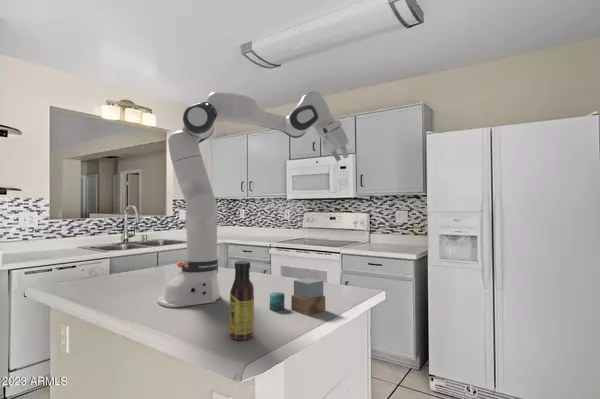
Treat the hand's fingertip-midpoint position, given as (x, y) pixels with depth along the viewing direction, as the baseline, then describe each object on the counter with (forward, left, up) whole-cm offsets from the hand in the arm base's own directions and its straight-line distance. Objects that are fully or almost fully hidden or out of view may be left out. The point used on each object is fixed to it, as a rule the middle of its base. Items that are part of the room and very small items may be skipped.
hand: (342, 159), depth 147 cm
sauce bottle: (-59, -18, -55) cm, 82 cm away
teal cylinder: (-36, -3, -54) cm, 65 cm away
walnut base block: (-29, -11, -55) cm, 63 cm away
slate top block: (-29, -11, -50) cm, 58 cm away
